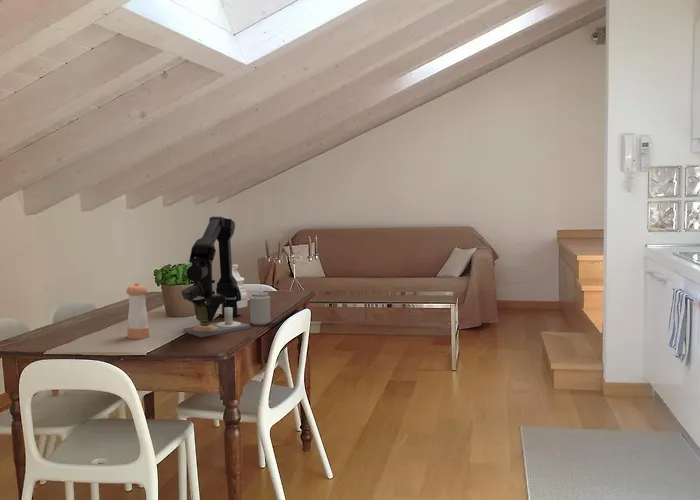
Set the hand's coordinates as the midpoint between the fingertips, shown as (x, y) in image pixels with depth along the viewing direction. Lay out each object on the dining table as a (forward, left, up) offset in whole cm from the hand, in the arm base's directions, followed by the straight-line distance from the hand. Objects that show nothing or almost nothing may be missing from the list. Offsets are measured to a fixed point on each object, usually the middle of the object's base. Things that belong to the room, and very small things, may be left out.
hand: (205, 320), depth 254 cm
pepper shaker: (-10, -21, -5) cm, 24 cm away
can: (+2, +23, -5) cm, 23 cm away
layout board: (0, +5, -4) cm, 7 cm away
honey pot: (-36, +36, -5) cm, 51 cm away
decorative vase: (0, 0, -2) cm, 2 cm away
